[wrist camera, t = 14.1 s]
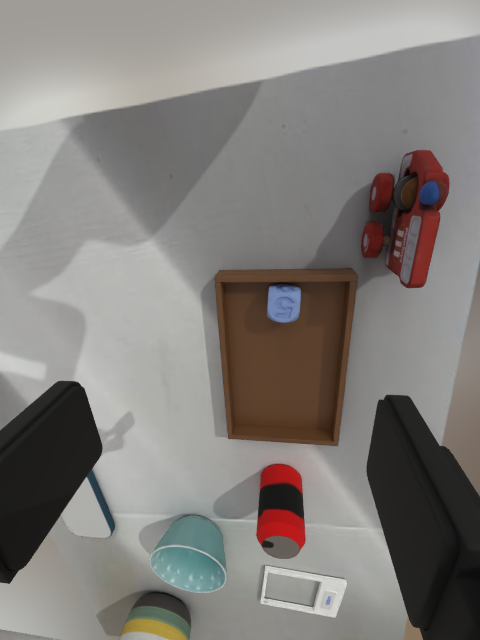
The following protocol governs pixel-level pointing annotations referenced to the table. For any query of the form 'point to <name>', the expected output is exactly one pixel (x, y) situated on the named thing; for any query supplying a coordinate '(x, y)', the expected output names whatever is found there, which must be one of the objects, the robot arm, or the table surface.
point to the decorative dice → (283, 302)
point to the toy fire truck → (408, 216)
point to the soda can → (281, 512)
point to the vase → (157, 619)
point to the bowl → (191, 556)
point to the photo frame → (325, 598)
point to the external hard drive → (88, 511)
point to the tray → (285, 354)
